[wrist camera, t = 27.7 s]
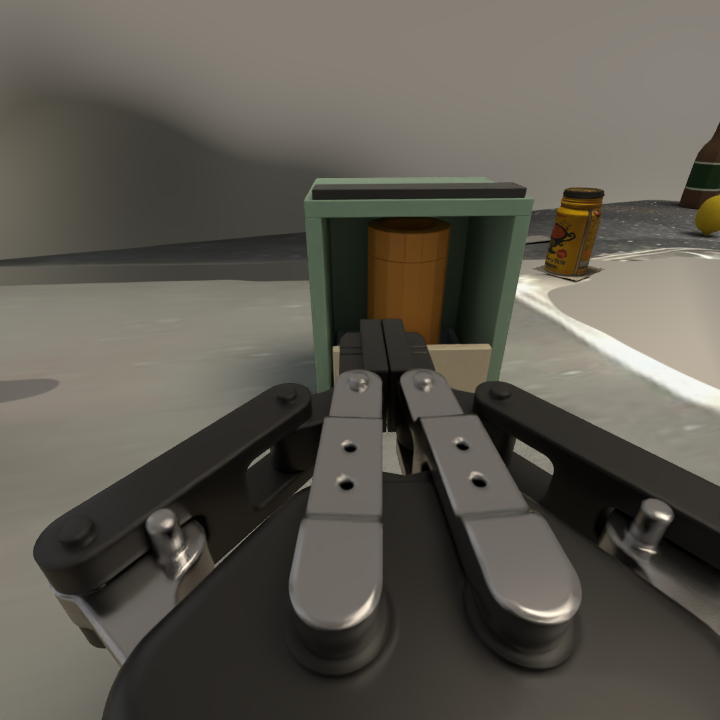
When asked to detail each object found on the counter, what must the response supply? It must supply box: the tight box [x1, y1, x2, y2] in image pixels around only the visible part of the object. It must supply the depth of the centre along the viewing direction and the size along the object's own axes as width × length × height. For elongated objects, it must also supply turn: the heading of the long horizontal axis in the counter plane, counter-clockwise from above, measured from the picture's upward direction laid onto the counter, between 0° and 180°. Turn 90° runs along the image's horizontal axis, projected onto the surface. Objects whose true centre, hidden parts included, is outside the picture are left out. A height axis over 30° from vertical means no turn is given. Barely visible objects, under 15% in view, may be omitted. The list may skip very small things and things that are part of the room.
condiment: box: [534, 188, 604, 281], centre depth 62 cm, size 7×8×12 cm
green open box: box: [304, 177, 534, 393], centre depth 34 cm, size 14×11×17 cm
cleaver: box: [526, 235, 551, 243], centre depth 81 cm, size 13×1×5 cm
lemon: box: [695, 194, 720, 236], centre depth 81 cm, size 6×6×8 cm
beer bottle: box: [680, 123, 720, 209], centre depth 105 cm, size 8×8×24 cm
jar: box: [367, 217, 451, 345], centre depth 33 cm, size 6×6×13 cm
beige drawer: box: [333, 328, 492, 423], centre depth 35 cm, size 11×11×6 cm
